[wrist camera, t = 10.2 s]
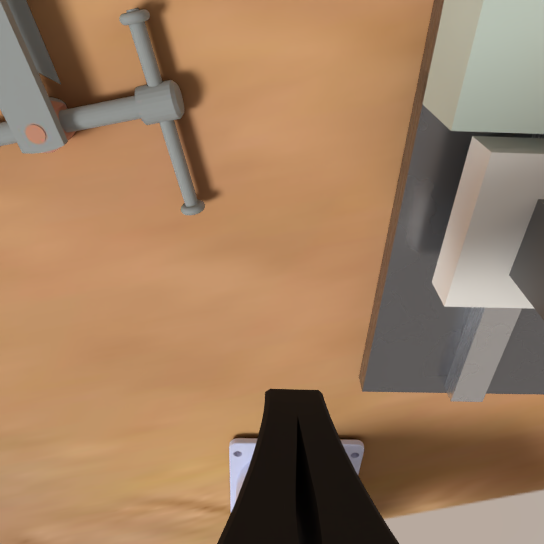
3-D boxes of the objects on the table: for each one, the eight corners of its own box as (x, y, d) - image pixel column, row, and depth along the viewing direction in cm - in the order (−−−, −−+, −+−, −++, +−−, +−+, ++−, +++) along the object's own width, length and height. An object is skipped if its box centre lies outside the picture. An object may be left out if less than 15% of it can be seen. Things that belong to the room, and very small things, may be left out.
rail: (541, 380, 25) (560, 409, 24) (359, 377, 25) (365, 406, 24) (764, -57, 15) (828, -60, 13) (448, -73, 14) (472, -76, 13)
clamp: (-395, -288, 11) (18, -420, 10) (-298, -253, 12) (58, -361, 11) (-32, 262, 19) (208, 221, 18) (-6, 235, 21) (213, 196, 20)
